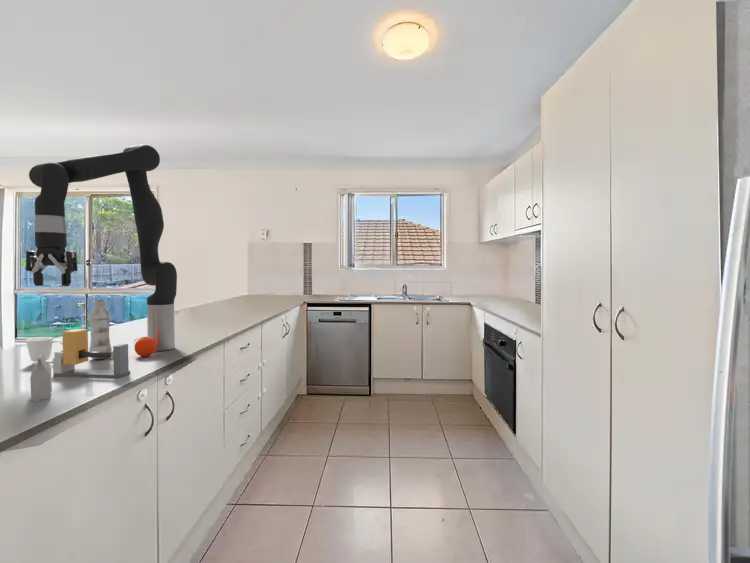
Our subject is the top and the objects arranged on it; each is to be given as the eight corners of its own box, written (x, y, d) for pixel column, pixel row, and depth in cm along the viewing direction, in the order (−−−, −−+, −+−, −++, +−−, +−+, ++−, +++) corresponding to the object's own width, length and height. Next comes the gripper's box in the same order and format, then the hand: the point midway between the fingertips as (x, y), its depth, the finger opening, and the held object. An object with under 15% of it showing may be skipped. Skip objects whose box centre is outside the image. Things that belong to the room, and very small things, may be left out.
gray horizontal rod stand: (53, 375, 121) (52, 345, 120) (67, 371, 126) (66, 341, 125) (118, 377, 119) (118, 347, 119) (130, 373, 124) (129, 343, 124)
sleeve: (63, 364, 121) (62, 331, 120) (75, 360, 125) (75, 329, 125) (76, 364, 120) (75, 331, 120) (88, 360, 125) (87, 329, 124)
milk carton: (51, 391, 107) (50, 352, 106) (50, 398, 102) (49, 358, 101) (33, 394, 105) (31, 354, 104) (31, 401, 99) (29, 360, 99)
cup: (28, 362, 137) (28, 337, 136) (66, 358, 142) (65, 335, 141) (24, 367, 130) (23, 341, 130) (63, 363, 136) (63, 338, 135)
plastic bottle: (93, 362, 137) (92, 301, 136) (86, 359, 141) (84, 300, 140) (115, 358, 142) (113, 300, 141) (107, 355, 147) (105, 299, 146)
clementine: (127, 358, 143) (126, 338, 142) (139, 354, 150) (138, 334, 149) (149, 359, 142) (149, 338, 142) (161, 354, 149) (160, 334, 149)
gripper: (83, 232, 127) (84, 285, 128) (39, 232, 128) (40, 284, 129) (63, 230, 119) (64, 287, 120) (16, 230, 120) (18, 286, 121)
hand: (52, 285), depth 124 cm, fingers open, 8 cm apart
